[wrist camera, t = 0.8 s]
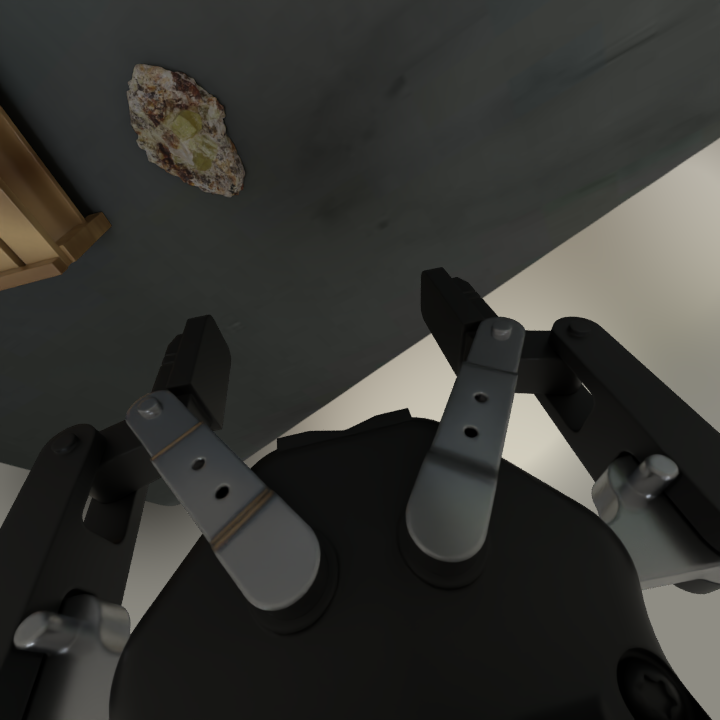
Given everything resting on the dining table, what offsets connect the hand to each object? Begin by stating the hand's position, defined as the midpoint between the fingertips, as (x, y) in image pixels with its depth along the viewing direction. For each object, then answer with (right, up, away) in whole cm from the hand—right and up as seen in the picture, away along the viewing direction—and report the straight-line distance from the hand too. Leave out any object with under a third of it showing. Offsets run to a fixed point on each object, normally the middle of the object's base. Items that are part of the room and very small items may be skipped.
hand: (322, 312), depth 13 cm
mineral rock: (-14, +18, +17) cm, 28 cm away
